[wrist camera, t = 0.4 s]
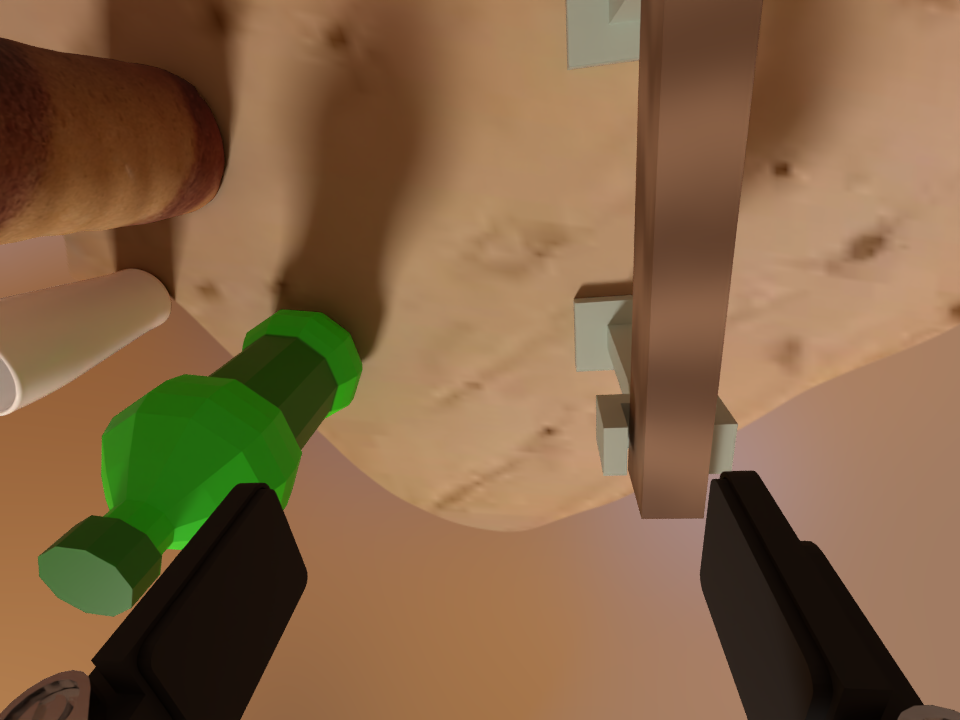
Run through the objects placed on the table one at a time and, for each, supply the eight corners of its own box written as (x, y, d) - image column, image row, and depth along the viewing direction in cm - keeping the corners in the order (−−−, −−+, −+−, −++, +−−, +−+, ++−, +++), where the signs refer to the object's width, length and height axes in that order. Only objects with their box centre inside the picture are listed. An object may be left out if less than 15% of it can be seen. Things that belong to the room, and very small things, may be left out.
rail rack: (564, -43, 29) (593, -225, 14) (683, -63, 28) (847, -280, 13) (575, 365, 41) (598, 497, 26) (660, 361, 40) (733, 496, 25)
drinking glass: (168, 257, 41) (-14, 318, 27) (192, 331, 44) (39, 419, 30) (97, 259, 42) (-114, 320, 28) (126, 331, 44) (-53, 418, 31)
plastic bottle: (349, 280, 40) (110, 468, 17) (391, 388, 44) (240, 654, 22) (246, 305, 42) (-87, 504, 19) (295, 407, 46) (67, 667, 24)
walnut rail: (645, -191, 16) (677, -282, 13) (739, -210, 16) (798, -310, 12) (628, 469, 28) (641, 518, 24) (681, 468, 28) (703, 518, 24)
